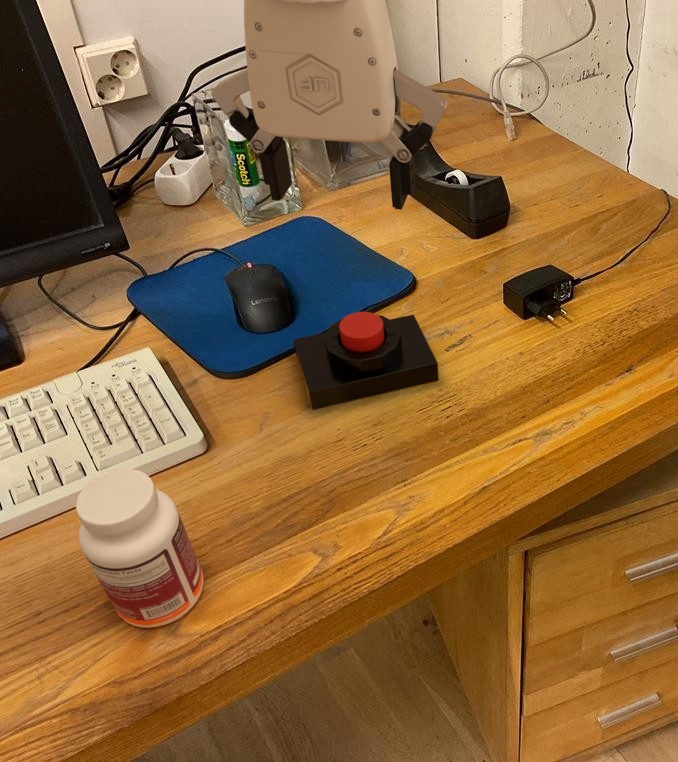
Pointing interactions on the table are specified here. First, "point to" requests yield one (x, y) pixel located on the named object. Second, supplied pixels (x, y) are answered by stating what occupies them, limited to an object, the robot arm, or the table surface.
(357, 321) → the button
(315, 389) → the button box
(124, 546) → the pill bottle
